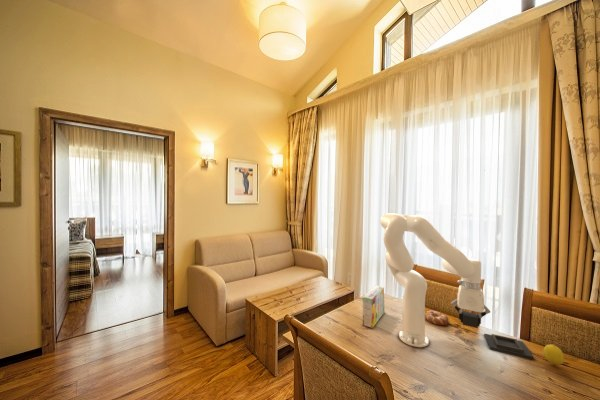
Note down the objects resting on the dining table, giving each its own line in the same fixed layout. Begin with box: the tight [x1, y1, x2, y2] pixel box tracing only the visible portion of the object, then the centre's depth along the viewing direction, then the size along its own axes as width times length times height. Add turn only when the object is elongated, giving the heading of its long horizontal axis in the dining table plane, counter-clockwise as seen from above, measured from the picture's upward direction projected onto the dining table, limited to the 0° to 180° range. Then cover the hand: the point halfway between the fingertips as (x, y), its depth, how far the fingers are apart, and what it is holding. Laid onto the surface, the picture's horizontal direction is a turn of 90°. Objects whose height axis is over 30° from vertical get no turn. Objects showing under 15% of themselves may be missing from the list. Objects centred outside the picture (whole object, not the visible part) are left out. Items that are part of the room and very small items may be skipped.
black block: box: [461, 310, 479, 329], centre depth 111 cm, size 6×6×4 cm
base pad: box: [483, 333, 534, 360], centre depth 104 cm, size 12×14×2 cm
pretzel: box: [425, 310, 449, 326], centre depth 127 cm, size 12×11×4 cm
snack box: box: [362, 284, 386, 329], centre depth 129 cm, size 21×6×15 cm, turn 144°
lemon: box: [542, 344, 565, 366], centre depth 93 cm, size 6×6×8 cm
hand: (469, 322), depth 111 cm, fingers closed on black block, 5 cm apart
